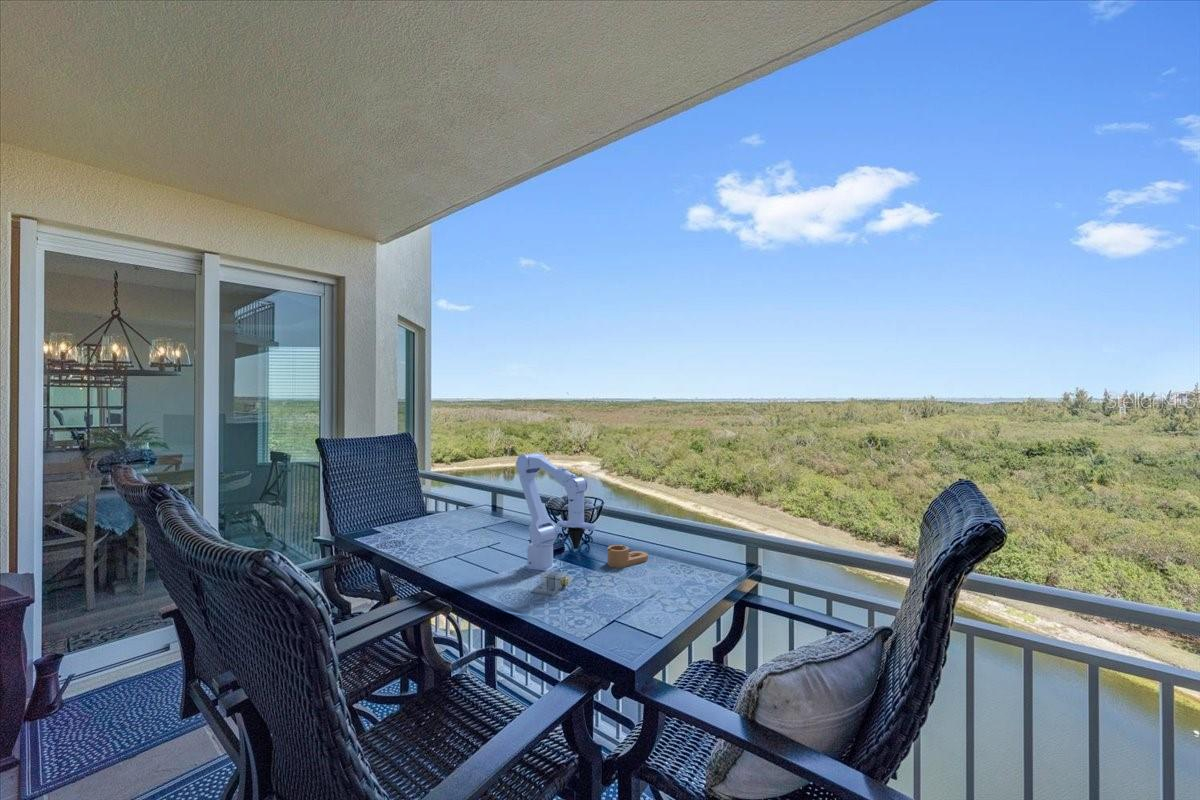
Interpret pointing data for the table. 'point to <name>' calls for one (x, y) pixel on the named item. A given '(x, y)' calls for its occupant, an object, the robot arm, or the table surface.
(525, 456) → the robot arm
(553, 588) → the hinge
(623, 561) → the bracket
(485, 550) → the table surface
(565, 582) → the pin
